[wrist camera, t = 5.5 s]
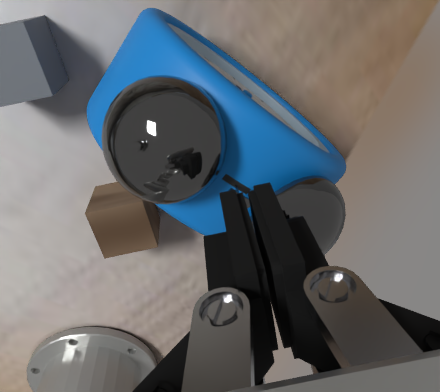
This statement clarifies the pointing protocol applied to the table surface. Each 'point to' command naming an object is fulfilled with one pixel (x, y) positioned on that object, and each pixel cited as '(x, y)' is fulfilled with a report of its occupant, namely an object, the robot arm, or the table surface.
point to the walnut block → (122, 221)
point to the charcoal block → (29, 62)
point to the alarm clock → (208, 133)
